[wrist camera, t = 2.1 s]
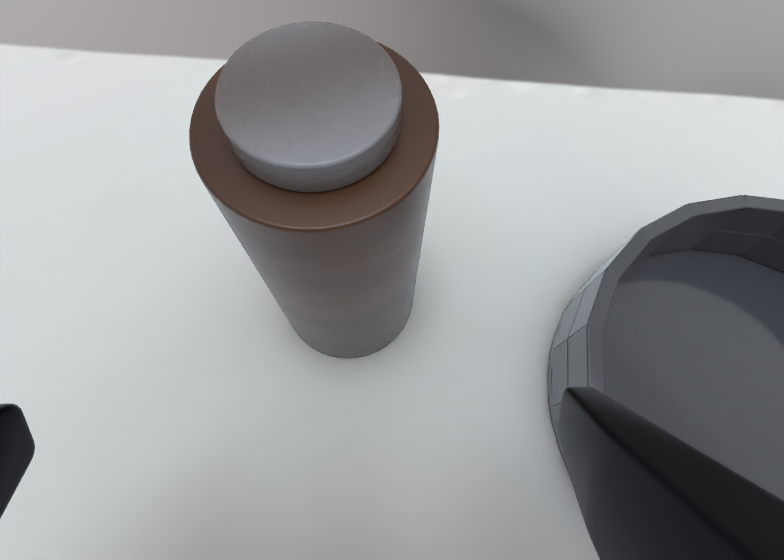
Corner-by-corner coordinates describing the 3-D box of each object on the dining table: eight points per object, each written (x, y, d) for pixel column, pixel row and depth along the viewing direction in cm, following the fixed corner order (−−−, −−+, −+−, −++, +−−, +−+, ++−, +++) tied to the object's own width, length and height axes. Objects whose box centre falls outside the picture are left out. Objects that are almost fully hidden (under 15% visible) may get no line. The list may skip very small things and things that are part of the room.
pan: (992, 481, 20) (1156, 483, 16) (713, 705, 17) (821, 782, 13) (731, 198, 25) (802, 142, 20) (480, 334, 22) (503, 301, 18)
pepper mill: (435, 321, 22) (497, 134, 10) (319, 382, 21) (230, 255, 9) (375, 221, 24) (366, -37, 12) (266, 273, 23) (133, 44, 11)
